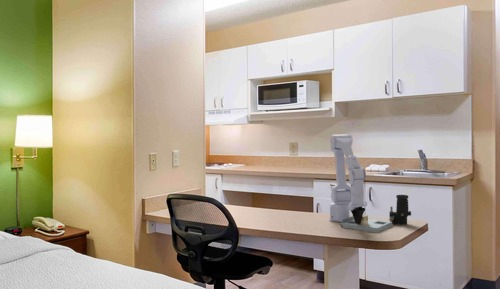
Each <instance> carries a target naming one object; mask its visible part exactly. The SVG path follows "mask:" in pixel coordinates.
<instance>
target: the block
mask: <svg viewBox="0 0 500 289" xmlns="http://www.w3.org/2000/svg"><path fill="white" fill-rule="evenodd" d="M368 219H369V215H368V214H363V216H362V220H361V224H359V225H366V224H368Z"/></svg>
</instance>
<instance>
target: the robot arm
mask: <svg viewBox="0 0 500 289" xmlns="http://www.w3.org/2000/svg"><path fill="white" fill-rule="evenodd" d="M353 140H354V139H353V137H352V135H351V134H350V133H348V134H332V135H331V137H330V142H329V143H330V150H331V152H333V154H334V162H335V163H334V164H335V166H334V167H335V176H336V177H335V178H336V184H335V185H334V186H332V188H331V193H330V194H331V195H330V198H331V201H332V202H331V204H330V206H329V219H328V220H329V221H332V222H338V223H339V222H340V223H341V220H342V219H345V218H348V217H351V214H352V216H353V217H354V221H355V224H361V220H362V216H363V215H364V213H365V211H366V207H367V206H368V201H365V193H364V187H365V185H364V184H365V183H364V181H365V180H366V176H367V175H366V169H365V168H364V167H363V166H361V164H360V162H359V159H358V157H357V156H356V155H354V152H353V149H352V148H353V147H352V146H353V142H354V141H353ZM345 158H346V159H345ZM346 167H347V170H348V179H349V184H348V183H347V176H346V175H347V174H346V173H347V172H346ZM350 212H351V214H350Z"/></svg>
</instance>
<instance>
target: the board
mask: <svg viewBox="0 0 500 289" xmlns="http://www.w3.org/2000/svg"><path fill="white" fill-rule="evenodd" d="M340 223H341V225H340V226H341V228H344V229H349V230H351V229H352V230H357V231H363V232H370V233H376V234H377V233H379V232H381V231H384V230H387V229H389V228H391V227H393V224H392V222H390V220H389V221H388V220H379V219H374V218H373V219H371V218H368V224H366V225H359V224H355V221H354V217H353V215H352V216H351V215H350V217H348V218H345V219H342V220H341V222H340Z"/></svg>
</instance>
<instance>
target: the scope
mask: <svg viewBox="0 0 500 289" xmlns="http://www.w3.org/2000/svg"><path fill="white" fill-rule="evenodd" d="M409 216H412V211H411V210H409V195H407V194H397V195H396V210H395V211H393V206H390V211H389V219H388V220H389V222H392V225H398V226H399V225H401V226H406V225H408V217H409Z"/></svg>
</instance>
